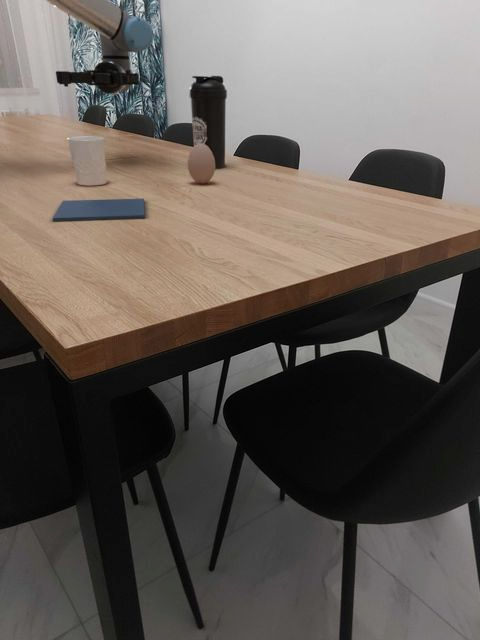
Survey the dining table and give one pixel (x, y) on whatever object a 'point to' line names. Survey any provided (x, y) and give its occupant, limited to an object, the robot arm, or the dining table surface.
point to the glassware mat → (100, 209)
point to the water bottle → (209, 115)
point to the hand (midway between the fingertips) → (89, 78)
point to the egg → (201, 163)
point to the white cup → (88, 160)
